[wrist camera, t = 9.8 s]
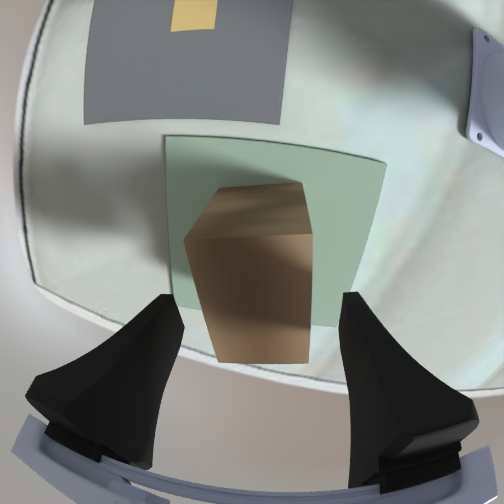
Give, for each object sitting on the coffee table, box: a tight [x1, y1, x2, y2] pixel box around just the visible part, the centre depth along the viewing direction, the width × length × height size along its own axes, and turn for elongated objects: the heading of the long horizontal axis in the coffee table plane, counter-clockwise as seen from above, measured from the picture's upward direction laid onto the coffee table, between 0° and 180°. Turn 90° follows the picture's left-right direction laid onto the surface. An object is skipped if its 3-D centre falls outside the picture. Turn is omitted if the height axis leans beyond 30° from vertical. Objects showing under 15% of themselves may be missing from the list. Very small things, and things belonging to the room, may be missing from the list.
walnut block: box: [183, 183, 313, 364], centre depth 14 cm, size 4×7×6 cm, turn 6°
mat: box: [166, 136, 387, 327], centre depth 16 cm, size 12×12×1 cm
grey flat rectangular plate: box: [84, 0, 292, 125], centre depth 10 cm, size 12×14×1 cm
